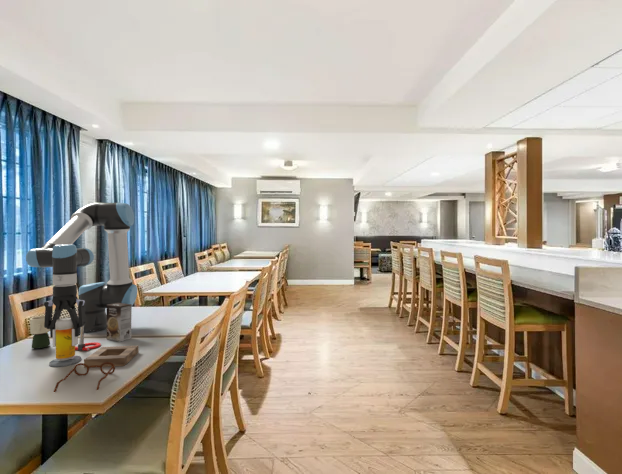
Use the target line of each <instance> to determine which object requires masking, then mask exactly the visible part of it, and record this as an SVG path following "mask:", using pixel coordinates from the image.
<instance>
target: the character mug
mask: <svg viewBox="0 0 622 474" xmlns="http://www.w3.org/2000/svg"><path fill="white" fill-rule="evenodd" d="M44 322H45V315H38V316H33V317H31V318H30V319H29V332H30V334H32V335H33V337H32V340H31V341H32V342H31V349H43V348H47V347H50V346H51V339H50V329H49V328H45V327H44Z"/></svg>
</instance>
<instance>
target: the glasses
mask: <svg viewBox="0 0 622 474" xmlns="http://www.w3.org/2000/svg"><path fill="white" fill-rule="evenodd" d="M104 364H110V365H112V366H111V367H109V369H108V371H107V372H106V371H104V369H103V367H102V366H103V365H104ZM78 366H83V367H84V366H85V367H86V368H85V369H86V372H85V373H79V372H78V371H77V367H78ZM91 368H98V369H100V372H101V374H103V375H104V376H103V377H101V378H100V379H99V380H98V383H97V386H96V389H95V390H96V391H98V390H99V389H100V386H101V383H102V381H104V379H106V378H107V377H108V376H109V375H112V374H114V372H115V371H116V366H114V364H113V363H111V362H105V363H103V364H101V366H99V365H92V366H88V365H86V364H84V362H81V363H79V362H78V363H76V364H75V365H74V366H73V368H72V369H71V370H70V371H69V372H68V373H67V374H66V376H64V378H61V379H60V380H58V381H57V382H56V384H55V386H54V389H53V392H55V393H56V392H58V391H57V390H58V388H59V385H60V383H61V382H63V381H66V380H67V379H68V378H69V377H70V376H71V374H73V373H74V374H75V375H77V376H81V377H82V376H86V375H88V373H90V369H91Z"/></svg>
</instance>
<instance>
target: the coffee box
mask: <svg viewBox="0 0 622 474" xmlns="http://www.w3.org/2000/svg"><path fill="white" fill-rule="evenodd" d="M106 306H107V308H106V315H107V328H106V340H109V341H114V342H115V341H116V342H123V341H127V340H129V339H132V306H133V305H132V304H125V303H113V304H108V305H106Z"/></svg>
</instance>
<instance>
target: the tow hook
mask: <svg viewBox="0 0 622 474" xmlns="http://www.w3.org/2000/svg"><path fill="white" fill-rule="evenodd" d="M84 333H85V332H84V326H82V327H81V328H80V336H79V339H78V344H77V345H75V351H81V352H82V351H86V352H88V351H90V350H92V349H96V348H99V347H101V346H102V343H100V342H97V341H96V342H95V341H92V342H86V343H85V337H84V336H85V335H84Z"/></svg>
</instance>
